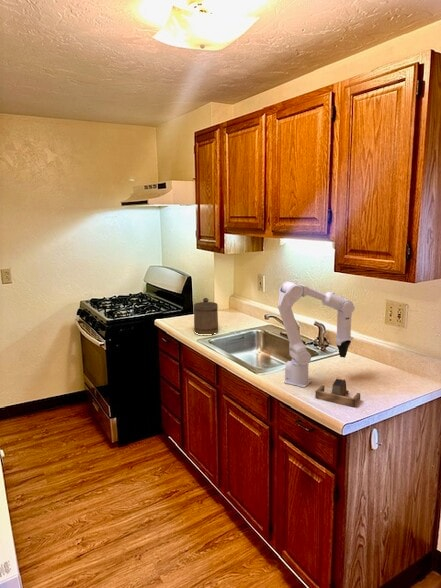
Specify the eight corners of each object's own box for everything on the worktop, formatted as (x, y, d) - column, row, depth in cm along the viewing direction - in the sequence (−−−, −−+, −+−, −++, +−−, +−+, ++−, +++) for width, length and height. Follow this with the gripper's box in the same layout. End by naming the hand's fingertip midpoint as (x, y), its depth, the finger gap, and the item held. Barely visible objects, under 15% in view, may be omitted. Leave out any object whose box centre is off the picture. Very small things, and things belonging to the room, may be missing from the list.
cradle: (315, 398, 160) (315, 391, 160) (321, 391, 166) (321, 384, 166) (355, 407, 152) (355, 400, 151) (360, 400, 158) (360, 393, 157)
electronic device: (348, 393, 164) (349, 376, 163) (341, 403, 156) (342, 384, 155) (338, 391, 167) (338, 373, 165) (330, 400, 159) (330, 382, 157)
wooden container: (222, 331, 257) (221, 297, 253) (210, 337, 244) (209, 301, 240) (202, 328, 264) (201, 295, 260) (189, 334, 252) (188, 299, 248)
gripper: (348, 332, 167) (346, 363, 169) (358, 324, 179) (356, 353, 181) (331, 329, 171) (330, 360, 173) (342, 322, 183) (341, 351, 185)
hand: (342, 356), depth 178 cm, fingers closed
